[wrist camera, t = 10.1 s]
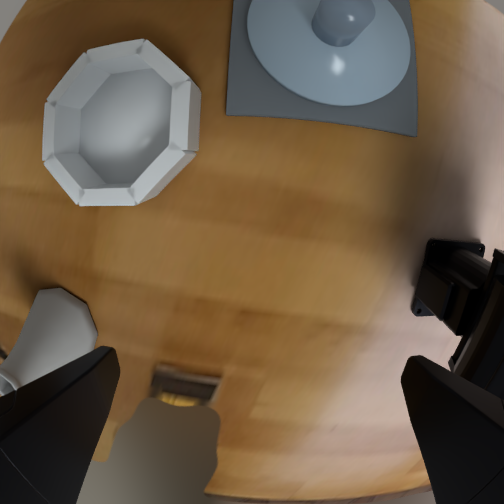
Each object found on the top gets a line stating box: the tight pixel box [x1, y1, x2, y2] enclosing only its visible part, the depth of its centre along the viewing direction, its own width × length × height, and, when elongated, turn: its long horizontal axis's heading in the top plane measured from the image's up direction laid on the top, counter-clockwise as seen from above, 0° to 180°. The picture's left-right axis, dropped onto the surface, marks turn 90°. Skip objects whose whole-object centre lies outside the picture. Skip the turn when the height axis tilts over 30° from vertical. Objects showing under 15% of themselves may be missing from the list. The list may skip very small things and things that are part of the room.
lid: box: [247, 0, 410, 107], centre depth 13 cm, size 11×11×4 cm
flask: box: [0, 288, 98, 396], centre depth 18 cm, size 7×7×10 cm
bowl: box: [42, 39, 201, 206], centre depth 16 cm, size 10×10×4 cm
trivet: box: [226, 0, 418, 137], centre depth 16 cm, size 13×13×1 cm
